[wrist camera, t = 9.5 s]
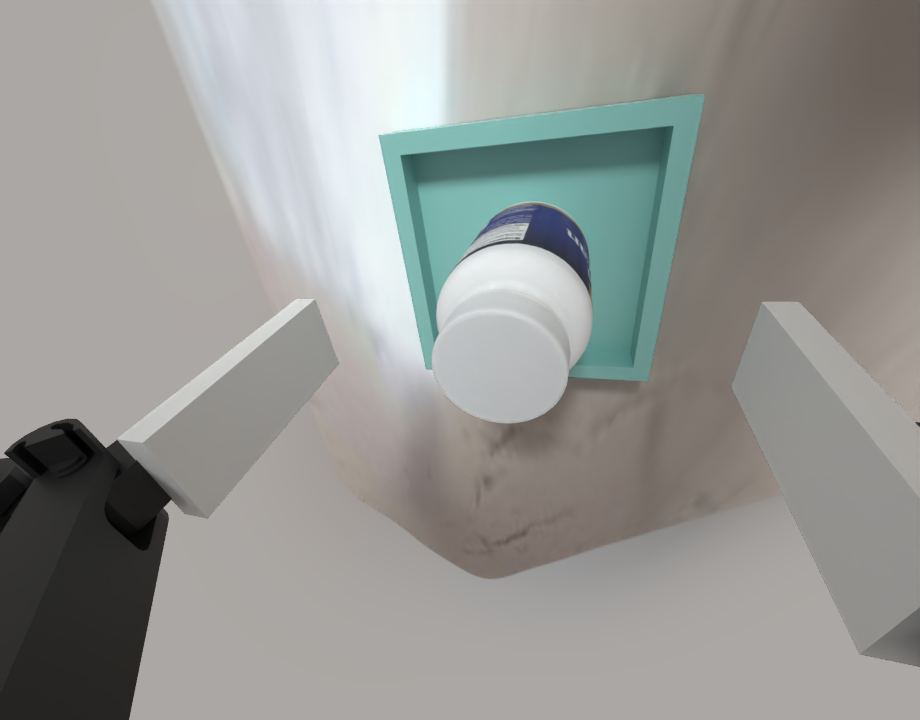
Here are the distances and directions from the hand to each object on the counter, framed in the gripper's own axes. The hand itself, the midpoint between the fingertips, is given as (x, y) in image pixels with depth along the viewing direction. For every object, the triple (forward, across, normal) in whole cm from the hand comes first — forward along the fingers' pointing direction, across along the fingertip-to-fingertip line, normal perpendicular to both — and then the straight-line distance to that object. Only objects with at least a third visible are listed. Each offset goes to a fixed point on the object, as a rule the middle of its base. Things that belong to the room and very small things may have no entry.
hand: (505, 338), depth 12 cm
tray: (+9, 0, -1) cm, 9 cm away
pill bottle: (+8, 0, 0) cm, 8 cm away
